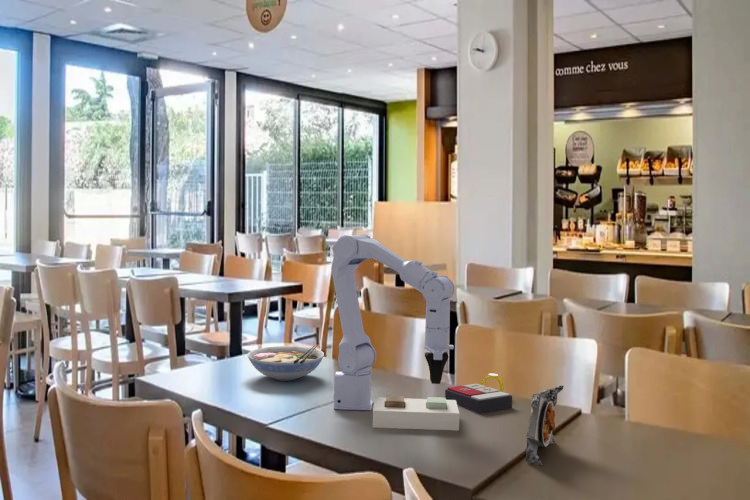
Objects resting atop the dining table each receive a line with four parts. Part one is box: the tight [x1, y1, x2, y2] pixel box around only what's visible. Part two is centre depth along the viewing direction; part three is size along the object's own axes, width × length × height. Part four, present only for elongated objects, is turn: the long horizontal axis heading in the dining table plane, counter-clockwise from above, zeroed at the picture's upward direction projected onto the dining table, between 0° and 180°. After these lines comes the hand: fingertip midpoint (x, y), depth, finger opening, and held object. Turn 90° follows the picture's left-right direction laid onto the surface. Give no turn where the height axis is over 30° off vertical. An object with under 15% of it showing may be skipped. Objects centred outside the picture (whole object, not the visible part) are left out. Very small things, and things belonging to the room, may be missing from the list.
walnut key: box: [385, 395, 405, 408], centre depth 161 cm, size 4×4×4 cm
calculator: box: [444, 383, 513, 415], centre depth 178 cm, size 11×4×15 cm
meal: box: [525, 385, 564, 466], centre depth 142 cm, size 15×4×13 cm, turn 153°
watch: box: [481, 372, 505, 392], centre depth 186 cm, size 6×3×6 cm, turn 53°
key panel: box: [372, 396, 460, 431], centre depth 161 cm, size 20×11×4 cm, turn 87°
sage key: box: [426, 396, 447, 409], centre depth 161 cm, size 4×4×4 cm
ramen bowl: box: [247, 345, 325, 382], centre depth 200 cm, size 25×23×8 cm
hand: (435, 383), depth 161 cm, fingers closed
